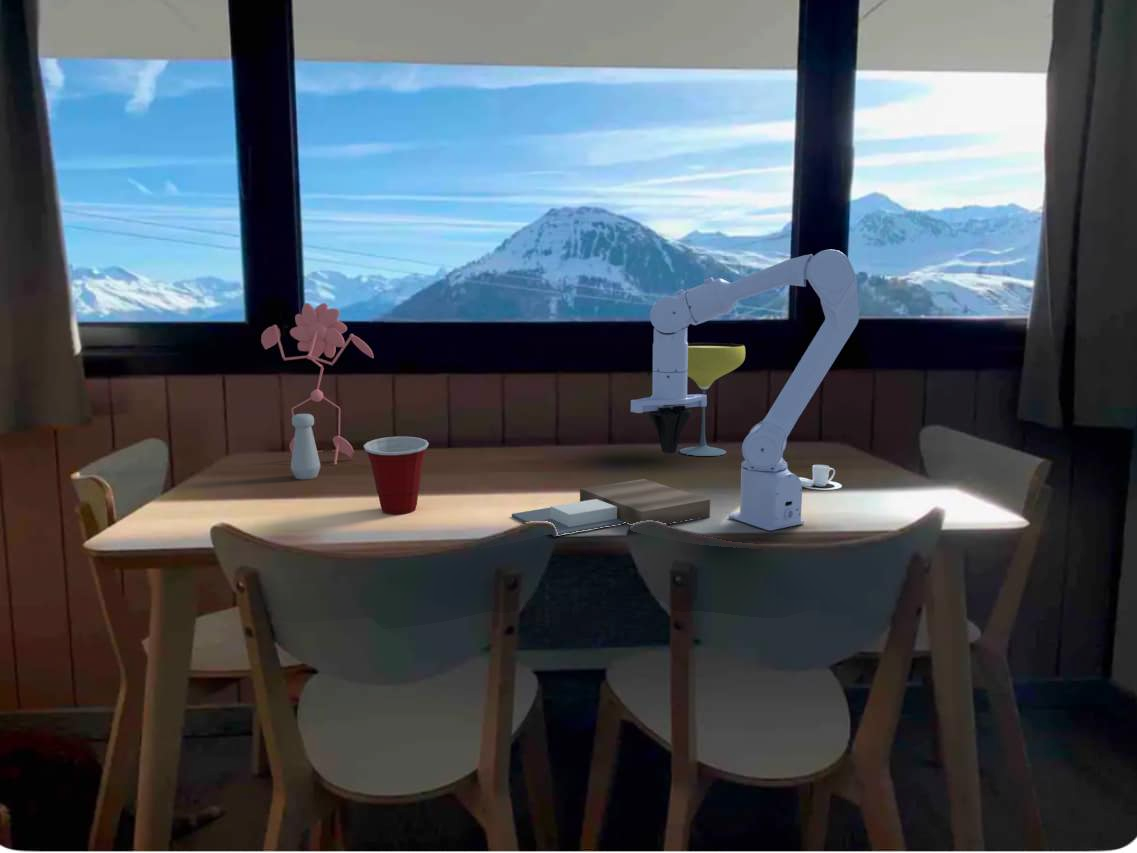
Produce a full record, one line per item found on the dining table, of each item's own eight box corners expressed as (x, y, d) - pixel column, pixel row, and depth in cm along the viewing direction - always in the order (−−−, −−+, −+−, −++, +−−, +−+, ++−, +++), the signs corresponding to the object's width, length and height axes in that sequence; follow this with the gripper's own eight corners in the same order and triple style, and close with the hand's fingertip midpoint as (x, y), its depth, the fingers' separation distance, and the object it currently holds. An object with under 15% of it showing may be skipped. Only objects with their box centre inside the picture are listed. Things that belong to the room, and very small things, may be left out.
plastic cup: (364, 520, 132) (360, 448, 130) (368, 504, 143) (365, 437, 141) (430, 517, 134) (428, 446, 132) (430, 501, 144) (428, 435, 143)
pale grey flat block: (596, 510, 136) (596, 498, 135) (617, 518, 131) (617, 506, 130) (550, 518, 131) (550, 506, 131) (569, 527, 126) (569, 514, 126)
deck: (709, 517, 133) (710, 499, 133) (641, 530, 126) (642, 511, 125) (644, 494, 148) (644, 478, 148) (580, 505, 141) (579, 488, 141)
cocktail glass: (648, 453, 187) (649, 345, 183) (690, 442, 201) (692, 342, 197) (716, 463, 175) (719, 348, 171) (756, 451, 189) (760, 344, 185)
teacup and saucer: (792, 489, 153) (793, 469, 153) (796, 480, 161) (796, 460, 160) (841, 493, 150) (842, 472, 150) (842, 484, 158) (843, 463, 157)
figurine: (371, 466, 174) (363, 303, 169) (257, 464, 177) (246, 303, 171) (393, 452, 189) (387, 302, 184) (288, 451, 192) (278, 302, 186)
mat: (624, 524, 129) (624, 521, 129) (554, 537, 122) (554, 534, 122) (577, 505, 141) (577, 503, 141) (511, 516, 134) (511, 513, 134)
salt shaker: (286, 477, 164) (282, 414, 162) (311, 473, 168) (308, 411, 166) (300, 481, 160) (296, 417, 158) (326, 477, 164) (322, 414, 162)
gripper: (688, 367, 139) (686, 444, 142) (619, 371, 132) (619, 452, 134) (715, 370, 133) (713, 450, 136) (646, 374, 126) (645, 459, 128)
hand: (668, 452), depth 134 cm, fingers closed
